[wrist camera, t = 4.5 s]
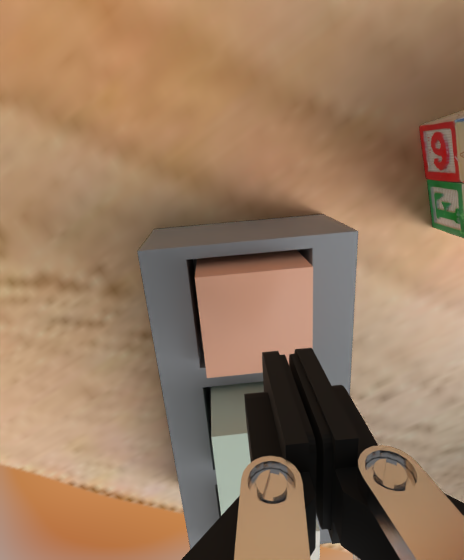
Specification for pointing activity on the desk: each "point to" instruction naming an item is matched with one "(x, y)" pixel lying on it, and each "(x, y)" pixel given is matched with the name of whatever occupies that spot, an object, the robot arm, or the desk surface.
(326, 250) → the frame
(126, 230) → the desk surface
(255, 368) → the terracotta button
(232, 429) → the sage button
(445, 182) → the stack of blocks
